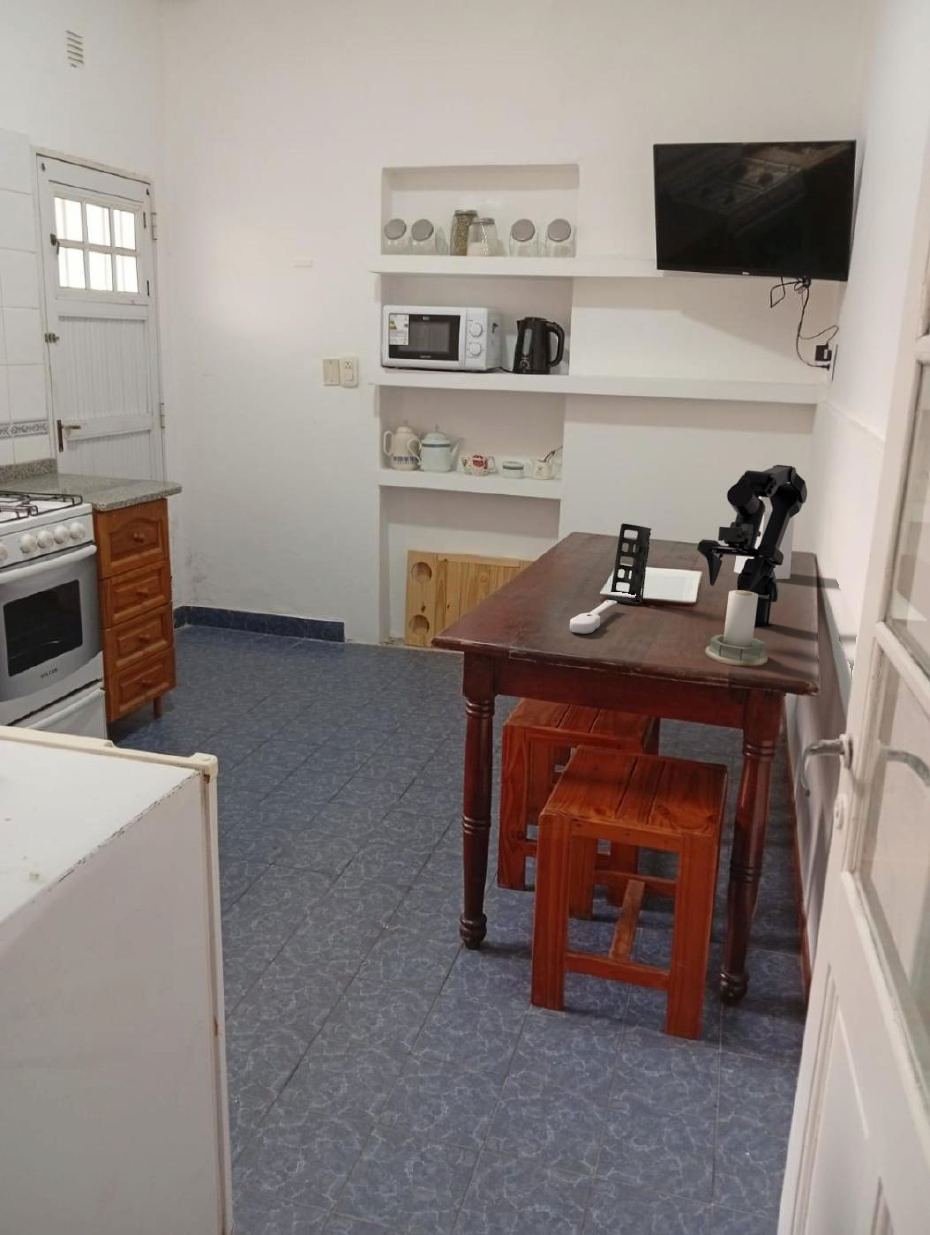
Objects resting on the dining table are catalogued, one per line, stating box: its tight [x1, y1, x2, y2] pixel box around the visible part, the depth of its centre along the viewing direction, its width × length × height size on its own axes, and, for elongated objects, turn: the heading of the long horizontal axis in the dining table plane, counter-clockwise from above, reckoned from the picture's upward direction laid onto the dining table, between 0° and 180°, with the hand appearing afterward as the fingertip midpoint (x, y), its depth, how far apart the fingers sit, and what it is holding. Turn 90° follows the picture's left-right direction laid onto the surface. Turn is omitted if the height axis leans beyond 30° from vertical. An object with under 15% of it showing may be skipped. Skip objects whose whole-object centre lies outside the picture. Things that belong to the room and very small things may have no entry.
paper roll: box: [723, 589, 758, 647], centre depth 212 cm, size 6×6×13 cm
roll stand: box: [704, 634, 769, 667], centre depth 213 cm, size 13×13×4 cm
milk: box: [733, 497, 795, 580], centre depth 299 cm, size 12×12×26 cm
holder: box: [609, 523, 652, 607], centre depth 258 cm, size 11×8×20 cm
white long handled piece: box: [569, 599, 618, 635], centre depth 237 cm, size 28×6×3 cm, turn 156°
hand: (730, 587), depth 223 cm, fingers open, 9 cm apart
